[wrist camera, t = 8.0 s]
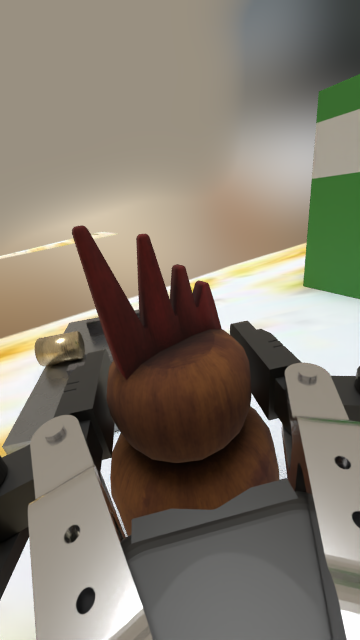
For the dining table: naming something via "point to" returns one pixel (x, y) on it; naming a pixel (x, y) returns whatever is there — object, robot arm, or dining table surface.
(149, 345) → the wooden figurine
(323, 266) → the hardback book
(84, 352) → the metal mounting plate
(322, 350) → the dining table surface
